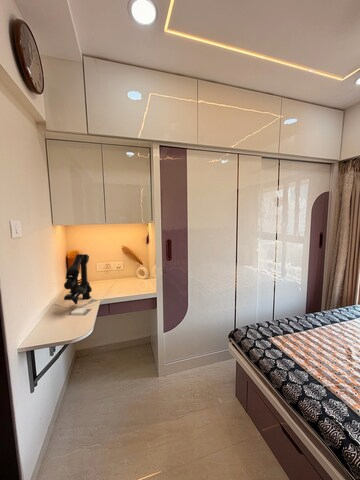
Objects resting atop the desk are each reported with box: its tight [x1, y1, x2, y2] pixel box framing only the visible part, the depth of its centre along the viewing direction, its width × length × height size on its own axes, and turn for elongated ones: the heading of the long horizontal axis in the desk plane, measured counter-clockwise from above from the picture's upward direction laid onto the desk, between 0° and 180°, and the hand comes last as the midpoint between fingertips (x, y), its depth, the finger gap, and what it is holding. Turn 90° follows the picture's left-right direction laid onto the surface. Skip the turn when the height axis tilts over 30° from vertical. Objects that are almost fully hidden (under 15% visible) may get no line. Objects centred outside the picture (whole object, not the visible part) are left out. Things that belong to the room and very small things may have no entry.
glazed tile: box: [70, 307, 88, 316], centre depth 154 cm, size 2×8×7 cm
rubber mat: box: [67, 308, 93, 316], centre depth 156 cm, size 10×14×1 cm
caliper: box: [73, 298, 98, 310], centre depth 167 cm, size 20×1×6 cm
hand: (76, 303), depth 158 cm, fingers closed
